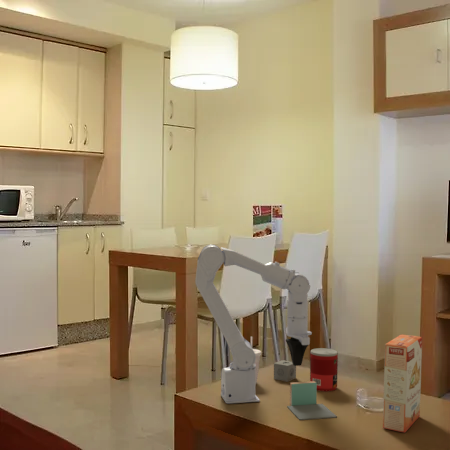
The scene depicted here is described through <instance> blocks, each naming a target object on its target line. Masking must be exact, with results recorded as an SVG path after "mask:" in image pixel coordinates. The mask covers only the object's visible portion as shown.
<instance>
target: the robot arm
mask: <svg viewBox="0 0 450 450" xmlns="http://www.w3.org/2000/svg"><path fill="white" fill-rule="evenodd" d="M196 264H197V265H196V272H195V280H194V281H195V286H196V288H197V290H198V291H199V293H200V295H201V297H202V299H203V301H204V302H205V304H206V306H207V308H208V310H209V312H210V314H211V315H212V318H213V319H214V321H215V323H216V325H217V327H218V328H219V330H220V332H221V334H222V336H223V337H224V339H225V341H226V344H227V345H228V348H229V350H230V354H231V356H232V357H231V358H232V361H231V362H230V363H229V366H227V367H223V368H222V369H221V372H220V373H221V376H220V377H221V378H220V379H221V380H220V387H221V388H220V396H221V398H222V399H223V401H224V403H225V404H240V403H256V402H260V401H261V399H260V398H259V397H258V396H257V395H256V384H257V383H256V365H255V364H254V363H255V359H256V356H255V353H254V351H253V349H254V348H253V344H252V345H251V342H249V341H248V340H247V339H246V338H245V337H244V336H243V333H241V331H240V330H239V327H238V326H237V324H236V322H235V319H234V318H233V316H232V314H231V313H230V311H229V309H228V308H227V306H226V303H225V302H224V300H223V298H222V296H221V294H220V293H219V290H218V289H217V287H216V285H215V284H214V281H215V278H216V274H217V272H218V271H219V269H220V268H221V267H222V265H224V267H230V266H236V267H240V268H243V269H245V270H248V271H250V272H253V273H255V274H258V275H260V276H261V280H262V281H263V282H265V283H267V284H269V285H271V286H274V287H277V288H279V289H282V290H287V301H286V302H287V303H286V304H287V306H286V311H287V312H286V327H285V334H286V336H287V337H289V338H286V339H285V343H286V344H287V346H288V350H289V353H290V354H289V355H290V358H291V362H292V363H293V365H294V366H296V367H297V366H299V367H300V366H302V364H303V361H304V356H305V352H306V350H307V348H308V346H309V345H310V343H311V342H310V341H311V338H310V336H311V335H312V333H313V332H312V331H309V329H308V327H309V324H308V322H309V321H308V320H309V319H308V318H309V315H308V314H309V311H308V310H309V301H308V298H309V297H308V293H309V292H310V290H311V285H310V282H309V280H308V278H307V277H306V276H304V275H303V274H301V273H300V272H297V271H296V270H295V269H293V268H292V269H288V268H287V267H284V266H281V264H280V262H278V261H274V262H272V261H270V262H267V263H262V262H260V261H258V260H255V259H253V258H251V257H249V256H247V255H244V254H242V253H240V252H238V251H236V250H233V249H229V248H227V247H222V246H220V247H219V246H218V245H216V244H207V245H205V246H204V247H203V248H202V249H201V251H200V253H199V256H198V258H197V263H196ZM255 383H256V384H255Z"/></svg>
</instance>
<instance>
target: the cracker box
mask: <svg viewBox="0 0 450 450" xmlns="http://www.w3.org/2000/svg"><path fill="white" fill-rule="evenodd" d="M422 352H423V337H422V336H418V335H412V334H409V335H408V334H399V335H398V336H396V337H394V338H393V339H391V340H390V341H388V342H387V343H385V344H384V366H383V367H384V372H383V373H384V374H383V377H384V378H383V408H382V409H383V410H382V429H386V430H390V431H395V432H400V433H405V434H406V432H407V431H408V430H409V429H410V428H411V427H412V426H413V424H414V423H415V422H416V421H417V420H418V419H419V418H420V417H421V387H422V384H421V383H422V356H423V353H422Z"/></svg>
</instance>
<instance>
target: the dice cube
mask: <svg viewBox="0 0 450 450" xmlns="http://www.w3.org/2000/svg"><path fill="white" fill-rule="evenodd" d="M273 379H274V380H276V381H282V382H287V383H288V382H290V381H293V380H294V379H295V380H296V379H297V366H294V365H293V363H292V361H289V360H284V359H282V360H279V361H276V362H274V363H273Z"/></svg>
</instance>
